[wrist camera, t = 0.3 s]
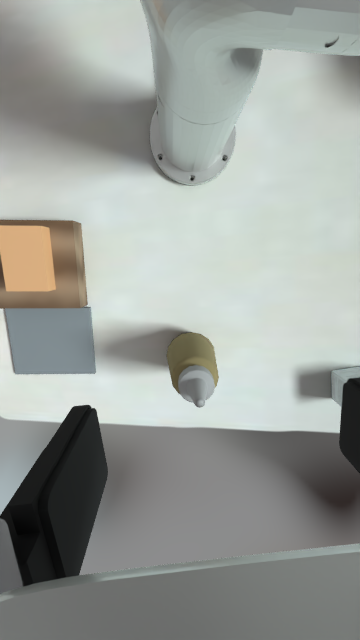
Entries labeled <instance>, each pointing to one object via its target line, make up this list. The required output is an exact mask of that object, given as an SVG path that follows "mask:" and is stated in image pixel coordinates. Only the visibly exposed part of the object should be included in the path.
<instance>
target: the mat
mask: <svg viewBox="0 0 360 640" xmlns="http://www.w3.org/2000/svg"><path fill="white" fill-rule="evenodd" d="M5 311H6V317H7V324H8V330H9V336H10V343H11V349H12V355H13V362H14V368H15V374H95V372H96V369H95V356H94V343H93V330H92V318H91V307H82V308H5Z"/></svg>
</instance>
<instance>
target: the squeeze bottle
mask: <svg viewBox="0 0 360 640" xmlns="http://www.w3.org/2000/svg"><path fill="white" fill-rule="evenodd" d="M167 361H168V365H169V370H170V375H171V379H172V384H173V387H174V388H175V389H176V391H177V392H178V393H179V394H181V396H182V397H183V398H184V399H185V400H187V401H189V402H193V403H194V404H195V405H196V406H197V407H203V406H204V404H205V400H207V399H209V398H210V396H211V395H212V394H213V392H214V388H215V387H216V386H217V382H218V378H219V377H218V371H217V365H216V359H215V353H214V347H213V345H212V344H211V342H210V341H209V339H207V338H206V337H204V336H203V335H201V334H198V333H192V332H190V333H185V334H181V335H180V336H178V337H176V338H175V339H173V341H172V342H171V344H170V345H169V347H168V351H167Z"/></svg>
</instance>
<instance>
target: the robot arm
mask: <svg viewBox="0 0 360 640" xmlns="http://www.w3.org/2000/svg"><path fill="white" fill-rule="evenodd" d="M140 1H141V4H142V8H143V11H144V14H145V17H146V21H147V25H148V30H149V36H150V42H151V50H152V58H153V68H154V77H155V87H156V98H157V108H156V110H155V112H154V114H153V116H152V120H151V124H150V135H149V136H150V145H151V150H152V153H153V156H154V159H155V161H156V162H157V164H158V166H159V168H160V169H161V170H162V171H163V172H164V173H165V174H166V175H167V176H168V177H170V178H171V179H172V180H174V181H176V182H178V183H182V184H185V185H199V184H203V183H206V182H209V181H210V180H212V179H214V178H215V177H216V176H218V175H219V174H220V173H221V172H222V171H223V169H224V168H225V167H226V165H227V164H228V162H229V160H230V158H231V156H232V153H233V151H234V146H235V140H236V130H235V124H236V122H237V120H238V118H239V115H240V113H241V111H242V109H243V107H244V105H245V103H246V101H247V99H248V97H249V95H250V92H251V90H252V88H253V86H254V84H255V81H256V79H257V76H258V73H259V69H260V65H261V60H262V54H263V49H265V50H272V49H279V50H290V51H300V52H310V53H320V54H330V55H345V56H360V0H140ZM160 157H161V158H162V160H159V158H160ZM223 158H224V159H225V161H223V160H222V159H223ZM191 178H193V179H194V180H193V181H191V180H190V179H191ZM339 444H340V449H341V451H342V453H343V455H344V456H345V457H346V458H347V459H348V460H349V462H350V463H351V464H352V465H353V466H354V467H355V469H356V470H357V471H358V472H359V473H360V377H358V378H349V379H348V380H347V383H344V385H343V393H342V409H341V425H340V441H339ZM107 475H108V469H107V463H106V458H105V453H104V448H103V443H102V437H101V432H100V428H99V422H98V417H97V412H96V409H95V408H92V409H91V406H90V405H83V406H74V407H73V408H72V409H71V410H70V412H69V413H68V415H67V416H66V418H65V420H64V421H63V423H62V424H61V426H60V427H59V429H58V430H57V432H56V433H55V435H54V437H53V438H52V439H51V441H50V442H49V444H48V445H47V447H46V448H45V449H44V450H43V452H42V453H41V455H40V456H39V458H38V459H37V461H36V462H35V464H34V465H33V467H32V468H31V470H30V471H29V473H28V474H27V476H26V477H25V479H24V480H23V482H22V483H21V485H20V487H19V488H18V489H17V491H16V493H15V494H14V496H13V497H12V499H11V500H10V502H9V503H8V505H7V506H6V508H5V509H4V511H3V512H2V514H1V515H0V640H360V544H352V545H342V546H333V547H323V548H314V549H305V550H294V551H286V552H276V553H267V554H257V555H248V556H240V557H239V556H238V557H229V558H221V559H212V560H202V561H194V562H185V563H176V564H167V565H158V566H150V567H140V568H132V569H124V570H117V571H110V572H102V573H94V574H88V575H79V573H80V570H81V566H82V563H83V559H84V556H85V553H86V549H87V546H88V542H89V538H90V535H91V532H92V528H93V525H94V521H95V518H96V515H97V511H98V508H99V504H100V501H101V498H102V494H103V490H104V487H105V484H106V480H107Z"/></svg>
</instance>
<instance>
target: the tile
mask: <svg viewBox="0 0 360 640" xmlns="http://www.w3.org/2000/svg"><path fill="white" fill-rule="evenodd" d="M0 254H1V261H2V267H3V274H4V280H5V287H6V291H52V290H55V289H56V286H55V276H54V267H53V258H52V249H51V240H50V230H49V228H48V227H44V226H3V225H0Z"/></svg>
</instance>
